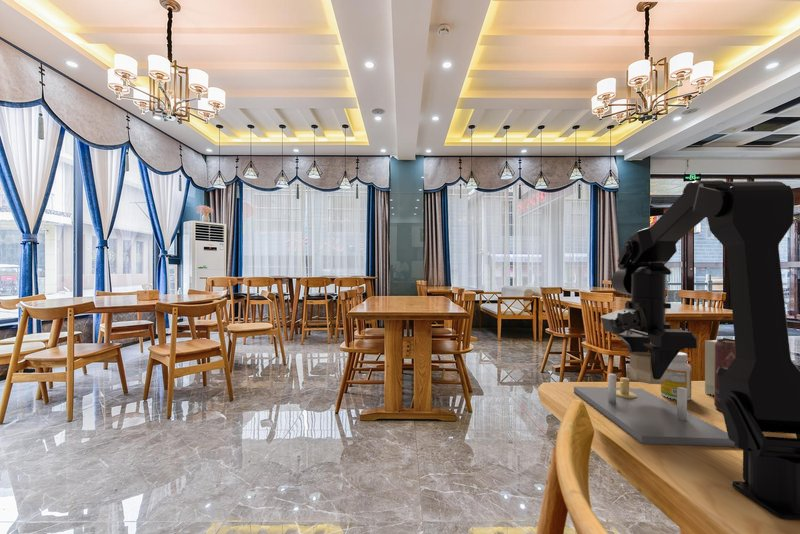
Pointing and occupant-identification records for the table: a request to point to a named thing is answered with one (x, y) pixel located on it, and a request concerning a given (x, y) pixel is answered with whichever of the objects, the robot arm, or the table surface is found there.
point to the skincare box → (710, 366)
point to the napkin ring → (643, 368)
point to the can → (722, 363)
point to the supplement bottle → (677, 377)
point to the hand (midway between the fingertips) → (647, 374)
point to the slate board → (652, 415)
